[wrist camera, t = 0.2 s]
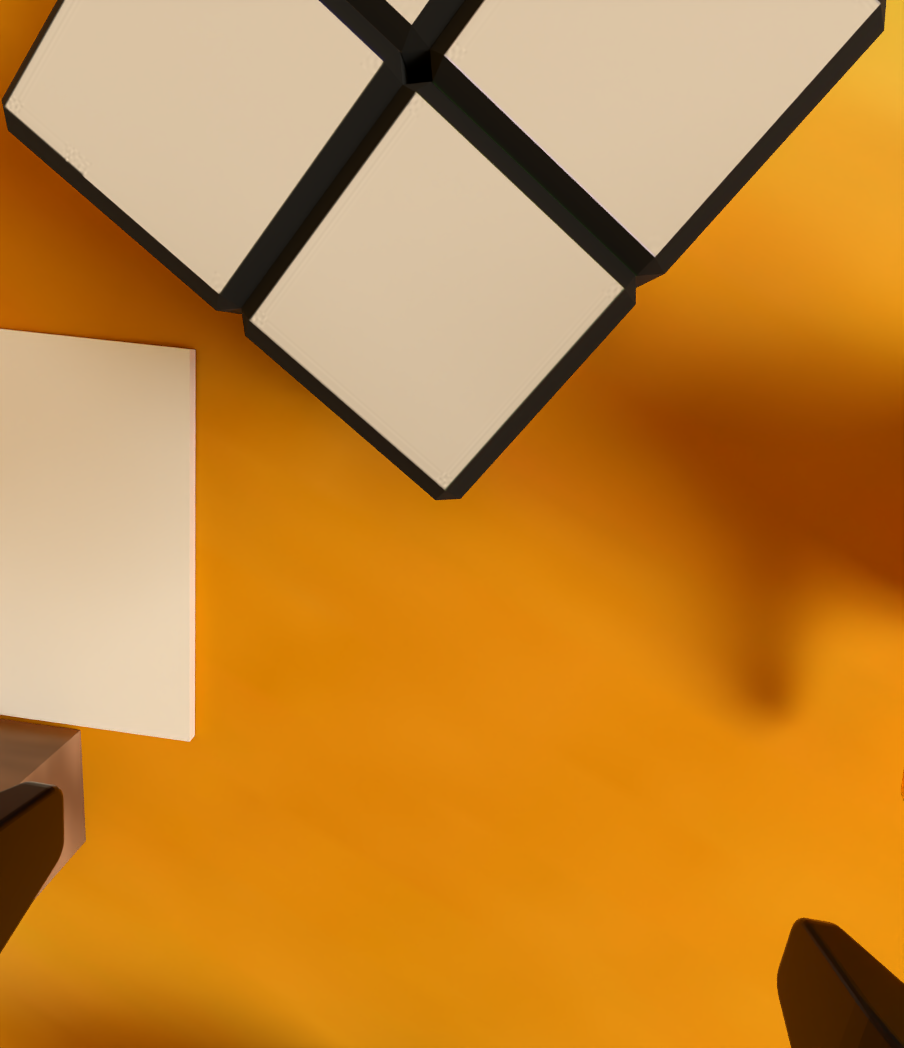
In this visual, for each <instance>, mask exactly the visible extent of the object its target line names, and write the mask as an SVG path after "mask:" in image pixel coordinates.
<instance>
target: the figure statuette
mask: <svg viewBox="0 0 904 1048" xmlns="http://www.w3.org/2000/svg"><path fill="white" fill-rule="evenodd" d="M901 794H902V798H903V800H904V771H903V779H902V786H901Z"/></svg>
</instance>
